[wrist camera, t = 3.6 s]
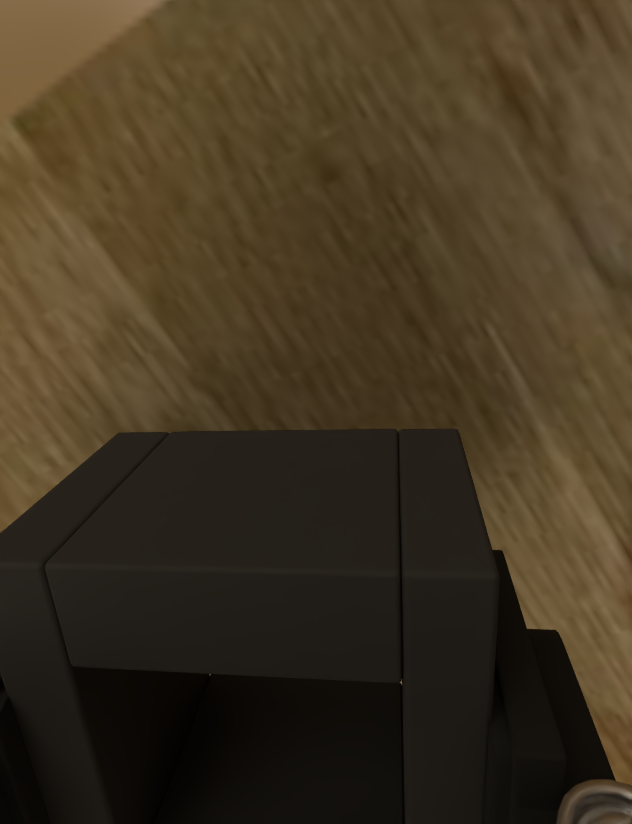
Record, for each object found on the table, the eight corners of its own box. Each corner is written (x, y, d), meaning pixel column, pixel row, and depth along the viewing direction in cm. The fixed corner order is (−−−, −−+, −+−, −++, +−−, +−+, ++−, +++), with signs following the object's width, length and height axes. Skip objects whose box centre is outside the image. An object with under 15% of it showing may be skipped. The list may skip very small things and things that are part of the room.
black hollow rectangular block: (117, 430, 10) (-40, 563, 7) (458, 427, 9) (501, 576, 6) (175, 722, 13) (85, 940, 9) (451, 739, 12) (478, 987, 8)
